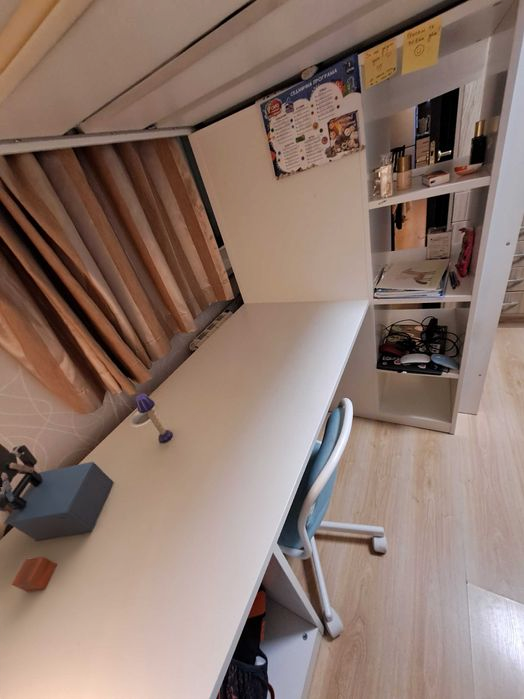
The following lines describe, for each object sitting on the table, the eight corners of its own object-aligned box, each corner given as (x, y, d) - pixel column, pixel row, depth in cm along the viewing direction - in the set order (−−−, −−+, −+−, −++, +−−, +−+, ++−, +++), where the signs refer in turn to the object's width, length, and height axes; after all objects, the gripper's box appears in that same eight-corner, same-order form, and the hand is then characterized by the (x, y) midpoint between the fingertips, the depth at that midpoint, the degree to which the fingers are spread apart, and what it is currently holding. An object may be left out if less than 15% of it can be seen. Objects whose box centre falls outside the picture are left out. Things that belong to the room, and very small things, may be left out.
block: (26, 592, 61) (11, 584, 59) (40, 567, 65) (25, 558, 62) (44, 589, 60) (29, 582, 58) (57, 564, 64) (43, 556, 62)
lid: (6, 524, 66) (-12, 513, 63) (40, 474, 76) (27, 462, 74) (68, 513, 64) (52, 502, 61) (95, 463, 74) (83, 451, 71)
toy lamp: (163, 430, 90) (136, 392, 81) (176, 429, 89) (150, 390, 80) (157, 443, 86) (128, 404, 77) (170, 442, 85) (142, 403, 76)
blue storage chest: (35, 540, 71) (9, 524, 66) (64, 491, 81) (43, 473, 76) (91, 532, 68) (68, 514, 64) (113, 482, 79) (95, 463, 74)
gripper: (-13, 429, 68) (36, 470, 77) (-71, 487, 56) (-4, 528, 65) (13, 423, 67) (61, 465, 76) (-40, 481, 55) (24, 523, 64)
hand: (30, 494), depth 70 cm, fingers closed on lid, 5 cm apart
